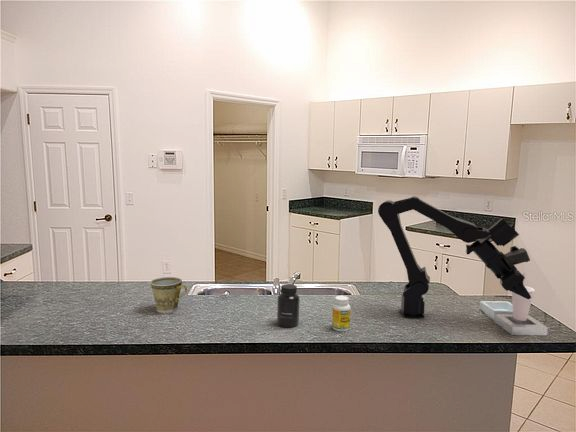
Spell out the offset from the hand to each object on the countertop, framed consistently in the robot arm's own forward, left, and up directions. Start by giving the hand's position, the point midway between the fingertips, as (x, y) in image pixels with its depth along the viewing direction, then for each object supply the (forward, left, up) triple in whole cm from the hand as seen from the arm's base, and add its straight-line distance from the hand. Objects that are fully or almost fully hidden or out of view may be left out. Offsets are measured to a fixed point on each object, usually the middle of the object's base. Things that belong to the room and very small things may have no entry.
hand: (527, 295), depth 124 cm
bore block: (-1, 0, -11) cm, 11 cm away
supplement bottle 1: (-72, +2, -11) cm, 73 cm away
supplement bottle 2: (-56, -1, -11) cm, 57 cm away
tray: (-1, +11, -11) cm, 16 cm away
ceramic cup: (-111, +12, -11) cm, 112 cm away
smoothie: (-1, +1, -8) cm, 8 cm away
